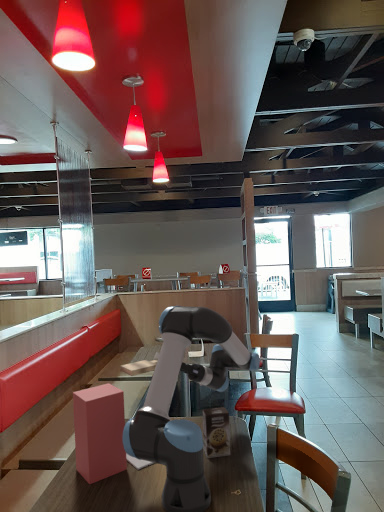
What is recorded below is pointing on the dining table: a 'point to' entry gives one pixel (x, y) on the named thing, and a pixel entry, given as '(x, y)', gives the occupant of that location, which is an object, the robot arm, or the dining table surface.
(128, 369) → the tan flat paddle-shaped piece
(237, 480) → the dining table surface
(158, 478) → the dining table surface
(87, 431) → the red rectangular block
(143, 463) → the mat
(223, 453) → the coffee box
